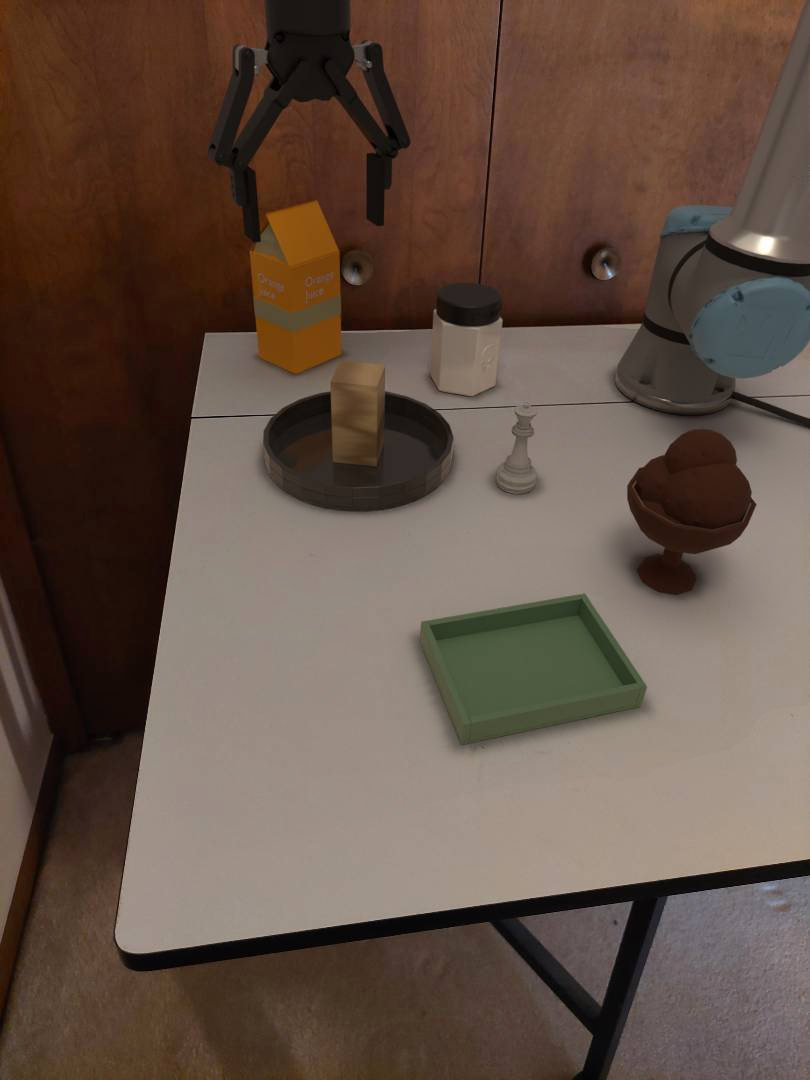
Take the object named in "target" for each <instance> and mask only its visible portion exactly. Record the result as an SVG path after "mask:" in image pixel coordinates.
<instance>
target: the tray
mask: <svg viewBox="0 0 810 1080" xmlns="http://www.w3.org/2000/svg"><path fill="white" fill-rule="evenodd" d="M419 643H420V646H421V648H422V650H423V654H424V656H425V659H426V660H427V663H428V665H429V668H430V670H431V673H432V675H433V678H434V680H435V682H436V683H435V684H436V685H437V688H438V690H439V693H440V695H441V698H442V700H443V702H444V703H443V704H444V705H445V708H446V710H447V713H448V715H449V718H450V721H451V723H452V726H453V727H454V730H455V733H456V735H457V738H458V740H459V742H460V745H463V746H464V745H467V744H471V743H476V742H481V741H487V740H491V739H496V738H499V737H504V736H505V737H506V736H509V735H514V734H519V733H523V732H524V733H525V732H528V731H533V730H537V729H542V728H546V727H547V728H548V727H552V726H557V725H561V724H565V723H571V722H576V721H580V720H585V719H589V718H593V717H599V716H603V715H608V714H613V713H617V712H622V711H627V710H631V709H637V708H641V707H642V704H643V701H644V697H645V694H646V692H647V689H648V686H647V684H646V682H645V681H644V680H643V678H642V677H641V675H640V674H639V671H638V670H637V669H636V667H635V666H634V664H633V663H632V662H631V660H630V658H629V657H628V656H627V654H626V653H625V651H624V650H623V648H622V647H621V646H620V643H619V642H618V640H617V639H616V638H615V636H614V635H613V633H612V631H611V630H610V629H609V627H608V625H607V624H606V623H605V621H604V620H603V618H602V617H601V615H600V614H599V612H598V611H597V609H596V608H595V606H594V605H593V603H592V602H591V600H590V599H589V598H588V595H587V594H586V593H585V592H584V593H580V594H573V595H567V596H562V597H561V596H560V597H556V598H550V599H545V600H539V601H538V600H537V601H532V602H528V603H527V602H526V603H521V604H515V605H510V606H505V607H504V606H503V607H498V608H492V609H487V610H480V611H475V612H469V613H463V614H457V615H452V616H446V617H440V618H434V619H429V620H423V621H422V620H421V621H420V634H419Z"/></svg>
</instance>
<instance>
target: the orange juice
mask: <svg viewBox="0 0 810 1080" xmlns="http://www.w3.org/2000/svg"><path fill="white" fill-rule="evenodd" d="M260 236H261V242H255V243H253V242H252V245H251V248H250V250H249V259H250V271H251V272H250V273H251V282H252V284H251V285H252V294H253V295H252V298H253V309H254V310H253V311H254V316H255V317H254V318H255V329H256V339H257V350H258V351H257V352H258V358H260V359H262V360H264V361H266V362H269V363H271V364H272V365H274V366H277V367H279V368H281V369H284V370H286V371H287V372H289V373H291V374H294V375H297V374H300V373H302V372H305V371H307V370H310V369H311V368H313V367H316V366H318V365H321V364H323V363H325V362H327V361H331V360H332V359H335V358H336V357H339V356H341V355H342V294H341V261H340V260H341V259H340V258H341V256H340V253H341V252H340V249H339V248H338V245H337V243H336V241H335V238H334V236H333V234H332V231H331V229H330V226H329V225H328V222H327V220H326V218H325V215H324V213H323V211H322V208H321V206H320V203H319V201H318V199H315V200H312V201H307V202H304V203H303V202H302V203H300V204H296V205H291V206H289V207H285V208H281V209H278V210H274V211H269V212H266V213H265V215H264V217H263V220H262V222H261V224H260Z"/></svg>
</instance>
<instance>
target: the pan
mask: <svg viewBox="0 0 810 1080" xmlns="http://www.w3.org/2000/svg"><path fill="white" fill-rule="evenodd" d="M262 434H263V436H262V437H263V438H262V447H263V448H262V449H263V458H264V464H265V468H266V471H267V473H268V475H269V477H270V478H271V480H272V481H273V482H274V484H276V486H278V488H280V490H282V491H284V493H287V494H289V495H290V496H291V497H293V498H295V499H297V500H299V501H302V502H304V503H307V504H310V505H312V506H313V505H314V506H317V507H321V508H325V509H330V510H335V511H336V510H337V511H347V512H348V511H349V512H370V511H381V510H386V509H387V510H388V509H393V508H396V507H401V506H404V505H407V504H410V503H412V502H415V501H418V500H420V499H422V498H424V497H425V496H428V495H429V494H430V493H433V491H435V490H436V489H437V488H438V487H440V486H441V485H442V483H443V482H444V481H446V478H447V477H448V475H449V473H450V470H451V467H452V460H453V451H454V439H455V438H454V435H453V431H452V427H451V425H450V424H449V422H448V421H447V420H446V418H445V417H444V416H443V415H442V414H441V412H439V411H437V410H436V409H434V408H433V407H432V406H430V405H429V404H427V403H425V402H422V401H420V400H417V399H415V398H412V397H411V396H407V395H403V394H401V393H400V394H399V393H395V392H391V391H386V390H385V416H384V445H383V448H382V451H381V454H380V458H379V461H378V464H377V467H375V466H365V465H356V464H347V463H338V462H333V452H332V417H331V390H330V391H324V392H319V393H316V394H312V395H309V396H305V397H303V398H299V399H297V400H295V401H293V402H291V403H290V404H287V405H286V406H284V407H282V408H280V409H279V411H277V412H276V413H275V414H274V415H273V416H271V417H270V419H269V420H268V423H267V424H266V426H265V427H264V429H263V433H262Z"/></svg>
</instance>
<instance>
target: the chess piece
mask: <svg viewBox="0 0 810 1080" xmlns="http://www.w3.org/2000/svg"><path fill="white" fill-rule="evenodd" d="M513 412H514V414H515V415H516V417H517V421H516V423H515V424H513V425H512V427H511V434H512V435H513V436H514V437H515V439H514V445H513V447H512V451H511V453H510V455H508V456H506V458H505V461H503V462H502V463H500V465H498V467H497V471H496V475H495V483H496V485H497V487H499V488H500V489H501V490H502V491H504V492H506V493H510V494H515V495H520V494H521V495H522V494H527V493H529V492H532V491H533V490H534V489H535V487H536V483H537V473H538V472H537V470H536V468H535V467H534V466H533V465H532V459H531V458H530V457H529V454H528V439H530V438H531V437H533V436H534V434H535V428H534V427H533V426H532V423H531V421H532V420H534V418H535V417H536V416H537V414H538V410H537V408H535V407H534V406H531V405H530V403H529V402H528V401H526V402H524V403H523V404H520V405H517V406H515V407H514V410H513Z"/></svg>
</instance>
